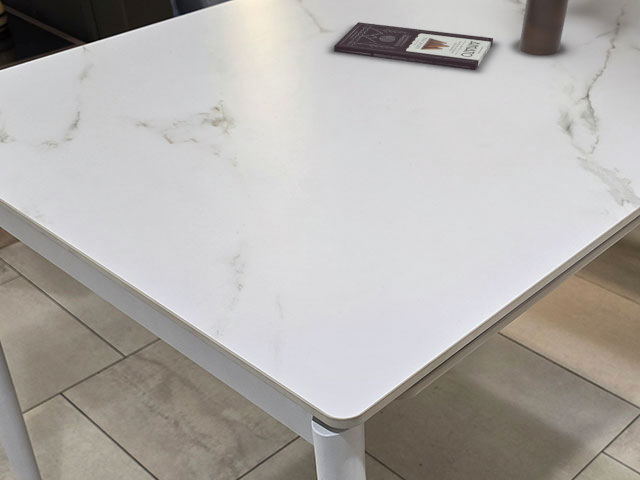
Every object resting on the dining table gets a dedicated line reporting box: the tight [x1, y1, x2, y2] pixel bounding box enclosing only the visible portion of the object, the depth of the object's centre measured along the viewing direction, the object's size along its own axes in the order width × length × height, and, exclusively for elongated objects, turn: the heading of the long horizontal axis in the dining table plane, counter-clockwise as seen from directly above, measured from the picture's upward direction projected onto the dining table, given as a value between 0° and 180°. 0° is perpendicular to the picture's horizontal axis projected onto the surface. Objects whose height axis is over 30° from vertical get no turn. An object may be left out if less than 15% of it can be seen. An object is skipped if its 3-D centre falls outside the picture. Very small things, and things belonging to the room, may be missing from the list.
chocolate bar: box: [333, 21, 494, 71], centre depth 108 cm, size 9×1×18 cm
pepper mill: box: [518, 0, 569, 57], centre depth 104 cm, size 5×5×10 cm
